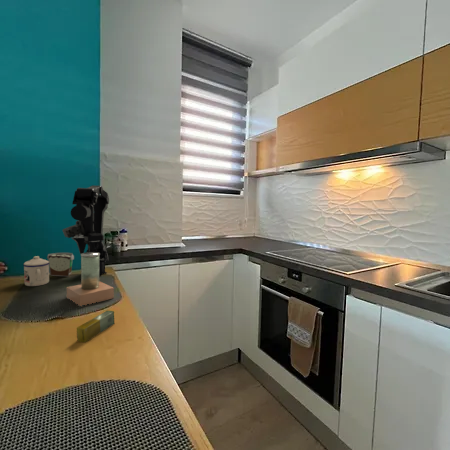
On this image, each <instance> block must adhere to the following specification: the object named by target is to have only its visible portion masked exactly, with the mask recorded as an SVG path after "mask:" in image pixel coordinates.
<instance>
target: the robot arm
mask: <svg viewBox="0 0 450 450" xmlns="http://www.w3.org/2000/svg"><path fill="white" fill-rule="evenodd" d="M73 194H74V195H73V198H72V199H73V200H72V205H75V206H73V207H72V208H71V210H70V216H71V218H72V219H74V220H76V221H75V224H74V225H70V226H68V227H66V228H63V229H62V232H63V235H64V237H65V238H68V239H70V238H71V239H72V240H73V241H75V243H76V244H77V248H78V251H79V255H81V254H82V253H86V252H98V253H100V255H99V276H100V275H106V274H107V273H108V272H107V271H106V262H109V255H108V252H107V249H106V246H105V244H104V242H103V241H104V237H105V236H104V234H103V230H104V217H105V215H104V213H105V212H106V211H107V209H108V207H109V204H110V196H109V194H108V192H107V191H106V190H104V188H103V186H101V185H91V186H90V185H89V187H77V188H76V190H75V191H74V193H73ZM86 247H87V250H86ZM85 250H86V251H85Z"/></svg>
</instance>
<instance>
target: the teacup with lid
mask: <svg viewBox="0 0 450 450" xmlns="http://www.w3.org/2000/svg"><path fill="white" fill-rule="evenodd" d="M23 271H24V272H23V273H24V274H23V275H24V277H23V279H24V286H27V287H38V286H43V285H46V284H48V283H49V282H50V269H49V261H48V259H47V260H46V259H43V258H42V257H41V258H40V256H39V255H37V256H36V255H35V256H33V258H32V259H29V260H27V261H25V262H24V263H23Z"/></svg>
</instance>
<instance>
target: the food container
mask: <svg viewBox="0 0 450 450" xmlns="http://www.w3.org/2000/svg"><path fill="white" fill-rule="evenodd" d="M46 259H47V261H49V276H54V277H55V276H56V277H66V278H67V277H71V275H72V268H73V260H75V255H74V254H73V252H55V253H54V252H53V253H48V254H47V257H46Z"/></svg>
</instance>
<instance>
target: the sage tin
mask: <svg viewBox="0 0 450 450" xmlns="http://www.w3.org/2000/svg"><path fill="white" fill-rule="evenodd" d="M99 255H100V253H98V252H86V251H85V252H84V253H82V254H80V257H81V258H80V260H81V261H80V262H81V263H80V266H81V267H80V268H81V271H80V272H81V274H80V279H81V280H80V281H81V283H80V285H81V289H84V290H91V289H96V288H98V287H99V281H100V275H99Z"/></svg>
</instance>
